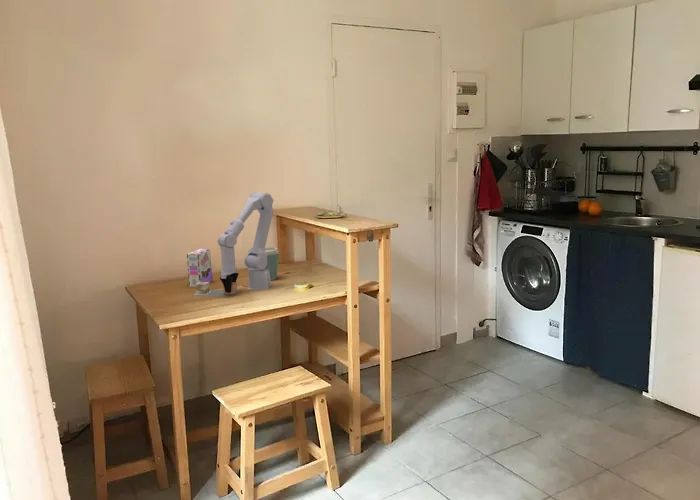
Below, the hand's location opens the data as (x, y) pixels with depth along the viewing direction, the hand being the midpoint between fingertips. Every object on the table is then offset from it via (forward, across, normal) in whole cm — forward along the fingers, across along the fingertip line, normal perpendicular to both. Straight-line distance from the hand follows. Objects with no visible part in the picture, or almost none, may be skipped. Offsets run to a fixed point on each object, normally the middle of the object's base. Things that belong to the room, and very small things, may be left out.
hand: (230, 290), depth 261 cm
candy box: (+2, -18, -22) cm, 28 cm away
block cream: (+1, 0, -13) cm, 13 cm away
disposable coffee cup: (+2, -31, +8) cm, 32 cm away
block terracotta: (+1, 0, 0) cm, 1 cm away
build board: (+2, 0, -6) cm, 7 cm away
